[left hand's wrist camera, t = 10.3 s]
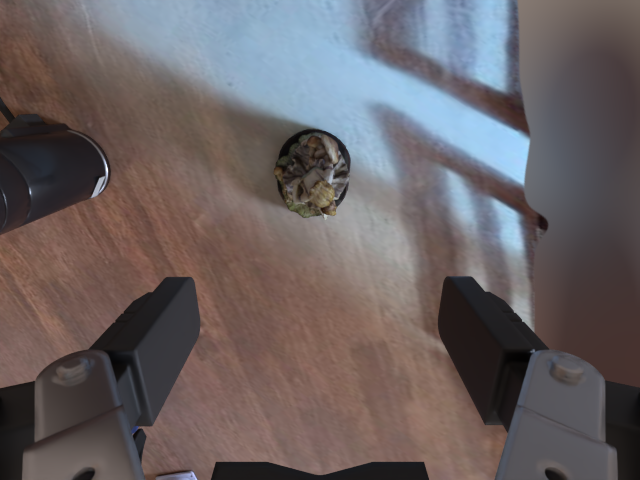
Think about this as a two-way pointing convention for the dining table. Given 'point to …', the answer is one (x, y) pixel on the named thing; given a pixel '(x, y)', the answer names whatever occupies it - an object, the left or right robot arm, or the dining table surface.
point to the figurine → (313, 173)
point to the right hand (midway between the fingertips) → (121, 436)
